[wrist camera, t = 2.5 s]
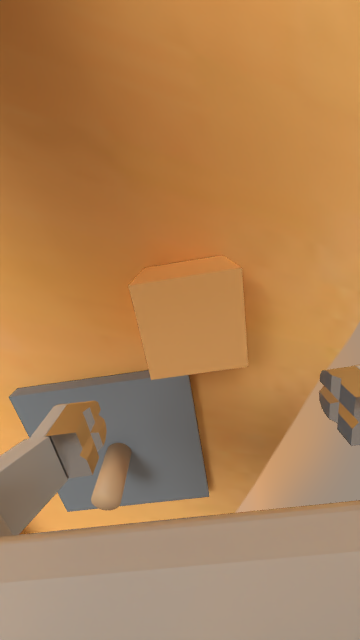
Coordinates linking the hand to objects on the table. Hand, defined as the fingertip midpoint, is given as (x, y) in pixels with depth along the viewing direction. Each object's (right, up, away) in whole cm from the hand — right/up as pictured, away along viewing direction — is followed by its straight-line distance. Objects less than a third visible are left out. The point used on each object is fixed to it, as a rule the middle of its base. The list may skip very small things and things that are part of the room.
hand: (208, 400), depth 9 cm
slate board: (-7, -10, +16) cm, 20 cm away
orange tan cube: (0, +5, +10) cm, 11 cm away
